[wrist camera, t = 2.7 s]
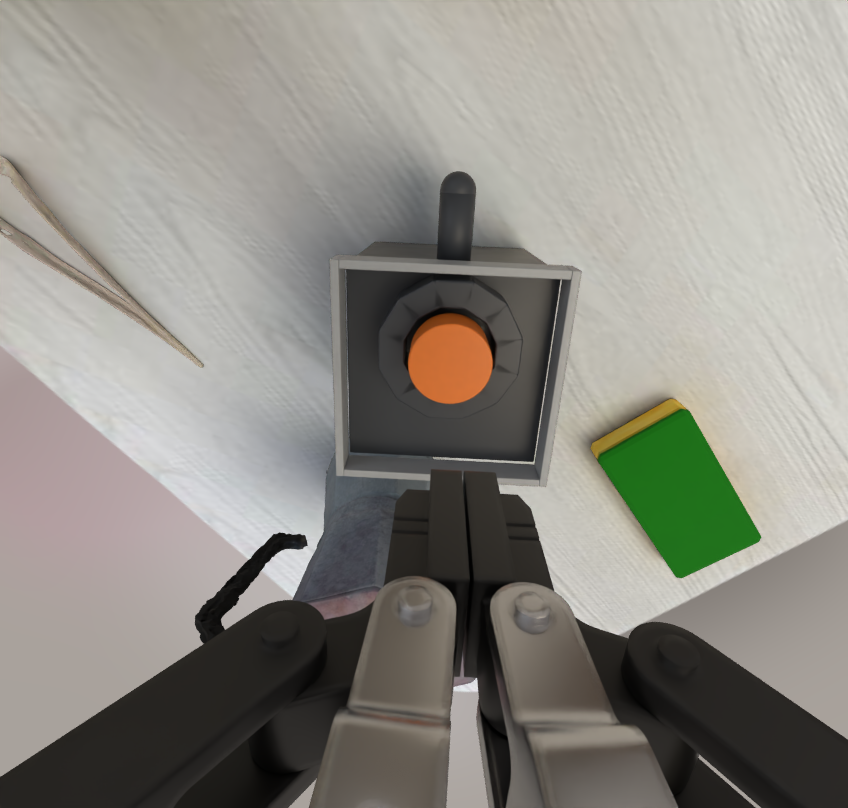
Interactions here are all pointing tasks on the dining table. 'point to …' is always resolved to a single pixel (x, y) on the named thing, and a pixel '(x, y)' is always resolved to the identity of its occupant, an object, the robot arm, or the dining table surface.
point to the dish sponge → (676, 488)
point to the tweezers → (39, 253)
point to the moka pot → (332, 551)
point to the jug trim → (457, 260)
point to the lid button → (450, 358)
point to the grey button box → (390, 345)
